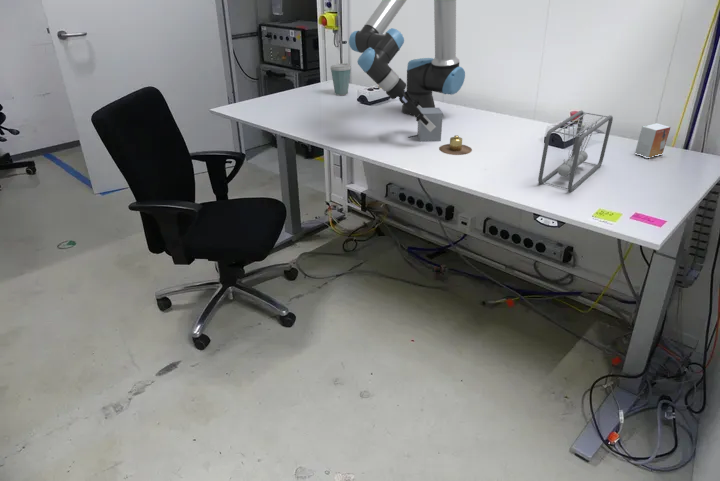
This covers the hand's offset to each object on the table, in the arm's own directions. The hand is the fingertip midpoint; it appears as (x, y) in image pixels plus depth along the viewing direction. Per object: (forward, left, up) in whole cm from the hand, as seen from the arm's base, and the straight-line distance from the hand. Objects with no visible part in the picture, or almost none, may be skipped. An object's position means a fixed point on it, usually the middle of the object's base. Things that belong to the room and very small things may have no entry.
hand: (430, 123), depth 196 cm
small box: (-54, +57, -7) cm, 79 cm away
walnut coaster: (0, +15, -6) cm, 16 cm away
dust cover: (0, 0, -6) cm, 6 cm away
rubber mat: (0, 0, -6) cm, 6 cm away
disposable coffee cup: (-8, -82, -7) cm, 83 cm away
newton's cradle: (-16, +54, -7) cm, 56 cm away
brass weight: (0, +15, -6) cm, 16 cm away
